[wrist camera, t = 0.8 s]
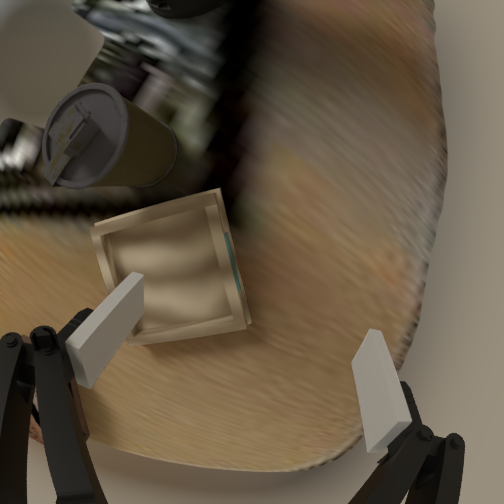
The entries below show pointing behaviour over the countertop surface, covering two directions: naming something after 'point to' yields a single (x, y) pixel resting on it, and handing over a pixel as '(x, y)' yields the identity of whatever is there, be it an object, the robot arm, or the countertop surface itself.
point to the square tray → (176, 267)
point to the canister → (105, 142)
